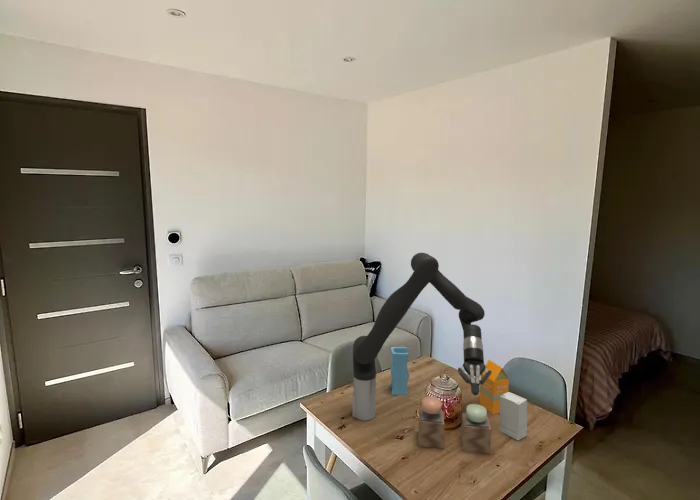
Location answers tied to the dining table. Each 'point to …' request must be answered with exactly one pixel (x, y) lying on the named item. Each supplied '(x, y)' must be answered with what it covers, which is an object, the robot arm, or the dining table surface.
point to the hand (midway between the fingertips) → (475, 394)
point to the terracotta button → (431, 405)
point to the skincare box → (513, 415)
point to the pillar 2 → (475, 435)
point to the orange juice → (493, 388)
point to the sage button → (476, 413)
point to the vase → (399, 371)
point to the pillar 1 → (431, 429)
